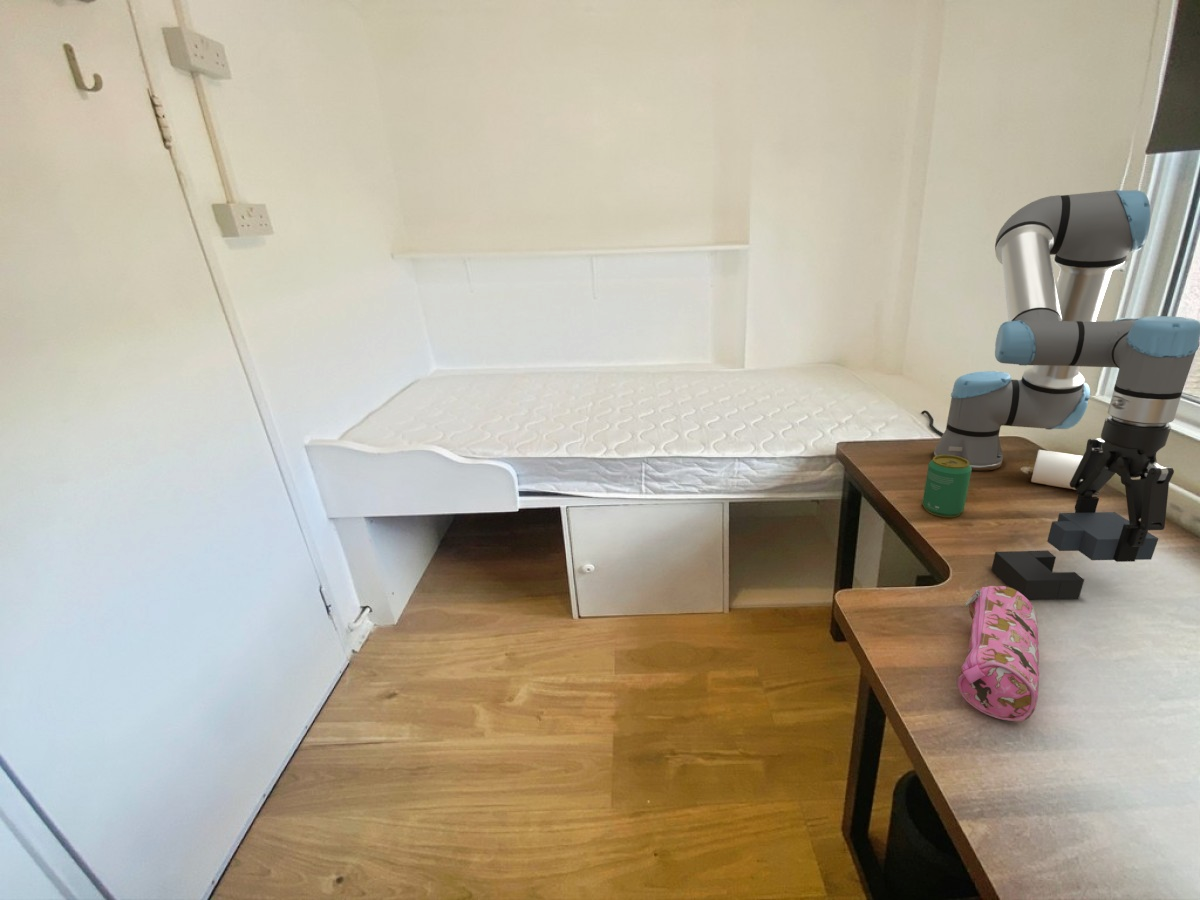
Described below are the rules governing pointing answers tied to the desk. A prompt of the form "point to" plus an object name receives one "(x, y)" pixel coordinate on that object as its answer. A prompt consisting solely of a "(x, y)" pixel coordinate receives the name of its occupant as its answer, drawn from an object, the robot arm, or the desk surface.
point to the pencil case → (1001, 655)
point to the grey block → (1094, 535)
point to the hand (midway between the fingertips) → (1100, 544)
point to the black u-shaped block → (1036, 575)
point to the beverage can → (946, 485)
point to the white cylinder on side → (1055, 468)
